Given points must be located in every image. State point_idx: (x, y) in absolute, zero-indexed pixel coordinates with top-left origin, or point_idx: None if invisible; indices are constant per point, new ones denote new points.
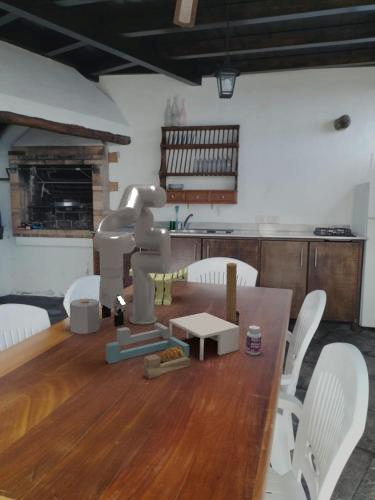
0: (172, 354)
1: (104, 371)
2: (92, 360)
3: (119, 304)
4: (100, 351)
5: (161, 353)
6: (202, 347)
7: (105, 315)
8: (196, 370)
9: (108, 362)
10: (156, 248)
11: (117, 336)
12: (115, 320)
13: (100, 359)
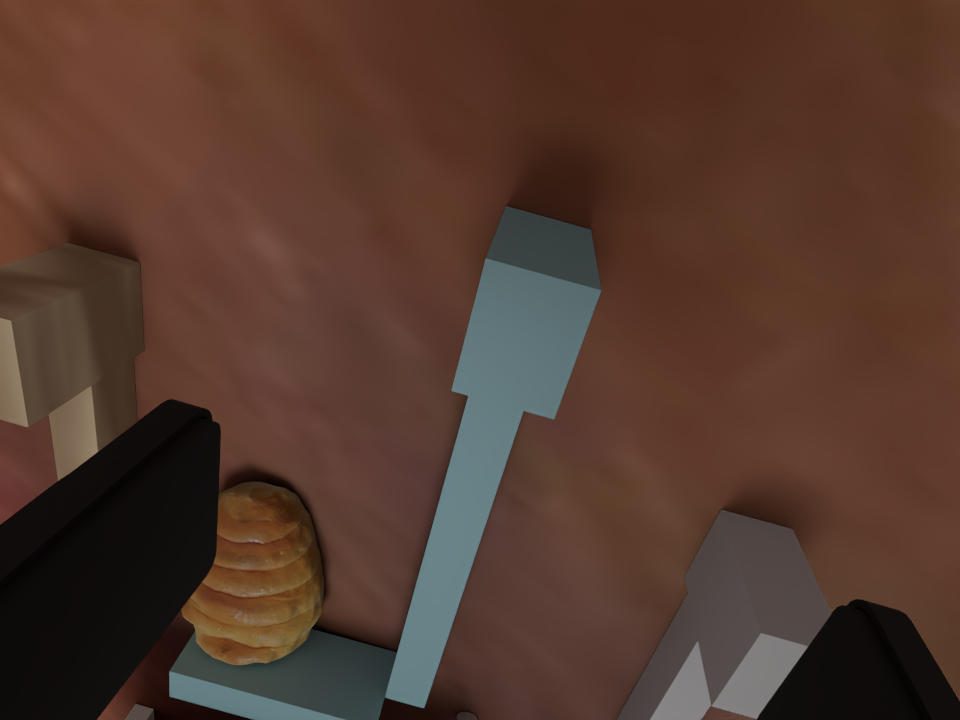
0: None
1: (408, 60)
2: (716, 139)
3: None
4: (812, 337)
5: (262, 543)
6: None
7: (835, 696)
8: None
9: (527, 212)
10: None
11: (808, 585)
12: (59, 503)
13: (662, 214)
